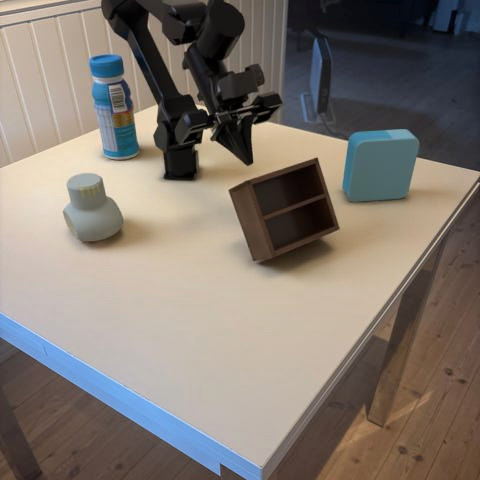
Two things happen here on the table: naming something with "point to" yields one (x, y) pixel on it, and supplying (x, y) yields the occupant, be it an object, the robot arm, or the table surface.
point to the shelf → (284, 209)
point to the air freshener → (91, 209)
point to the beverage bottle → (113, 107)
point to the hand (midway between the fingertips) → (250, 164)
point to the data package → (379, 165)
